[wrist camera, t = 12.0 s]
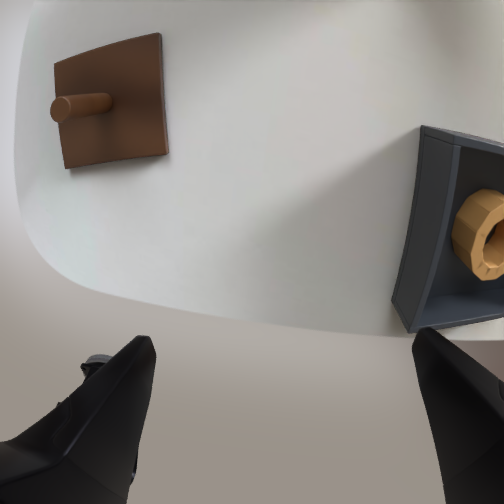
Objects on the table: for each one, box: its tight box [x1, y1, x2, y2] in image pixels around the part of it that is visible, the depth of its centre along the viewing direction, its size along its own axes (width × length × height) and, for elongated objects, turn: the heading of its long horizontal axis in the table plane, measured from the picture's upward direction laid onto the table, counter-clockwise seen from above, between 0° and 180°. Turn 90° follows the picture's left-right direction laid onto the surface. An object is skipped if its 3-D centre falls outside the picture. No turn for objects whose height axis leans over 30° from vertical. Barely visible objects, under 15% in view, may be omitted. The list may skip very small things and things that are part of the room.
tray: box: [391, 125, 504, 334], centre depth 18 cm, size 14×14×4 cm
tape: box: [451, 188, 504, 280], centre depth 17 cm, size 6×6×3 cm
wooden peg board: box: [50, 33, 169, 169], centre depth 14 cm, size 8×8×6 cm
